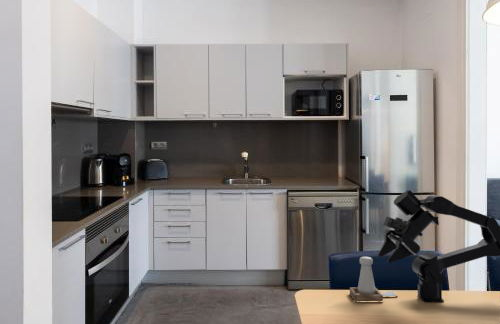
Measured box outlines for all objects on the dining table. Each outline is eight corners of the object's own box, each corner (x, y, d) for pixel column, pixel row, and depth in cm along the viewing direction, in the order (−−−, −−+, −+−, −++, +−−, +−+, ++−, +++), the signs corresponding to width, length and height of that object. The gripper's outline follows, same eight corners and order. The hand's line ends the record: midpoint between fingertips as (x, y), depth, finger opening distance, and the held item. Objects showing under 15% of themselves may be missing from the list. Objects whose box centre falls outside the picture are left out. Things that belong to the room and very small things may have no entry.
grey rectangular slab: (391, 293, 148) (391, 291, 148) (397, 297, 143) (397, 295, 143) (372, 293, 148) (372, 291, 148) (376, 297, 143) (376, 296, 143)
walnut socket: (376, 294, 147) (375, 287, 147) (382, 302, 138) (382, 295, 138) (349, 294, 148) (349, 287, 148) (354, 302, 139) (354, 295, 139)
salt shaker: (376, 298, 139) (375, 259, 139) (358, 298, 140) (357, 258, 141) (374, 293, 145) (374, 255, 145) (357, 292, 146) (356, 255, 146)
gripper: (388, 205, 150) (358, 237, 150) (409, 211, 132) (374, 247, 131) (411, 227, 150) (380, 259, 150) (435, 236, 132) (400, 272, 131)
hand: (383, 259), depth 141 cm, fingers open, 9 cm apart
